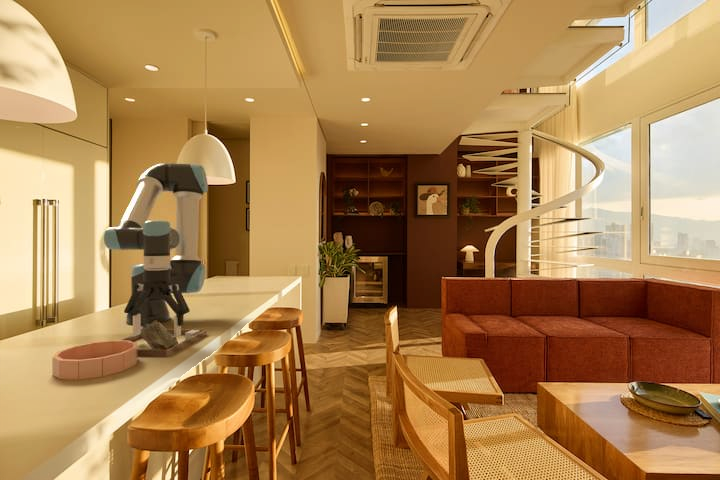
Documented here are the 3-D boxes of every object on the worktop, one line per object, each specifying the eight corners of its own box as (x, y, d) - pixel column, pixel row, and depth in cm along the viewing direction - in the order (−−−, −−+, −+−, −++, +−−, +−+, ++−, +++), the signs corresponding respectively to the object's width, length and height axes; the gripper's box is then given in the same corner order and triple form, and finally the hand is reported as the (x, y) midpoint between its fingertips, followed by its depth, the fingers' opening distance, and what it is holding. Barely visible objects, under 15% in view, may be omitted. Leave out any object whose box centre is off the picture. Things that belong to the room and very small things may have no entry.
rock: (182, 341, 119) (169, 351, 109) (167, 353, 119) (152, 364, 109) (158, 314, 118) (143, 321, 108) (143, 326, 118) (126, 335, 108)
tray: (148, 334, 131) (148, 329, 131) (206, 335, 130) (206, 330, 130) (97, 354, 108) (97, 348, 108) (167, 356, 107) (167, 350, 107)
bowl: (92, 355, 108) (92, 339, 108) (151, 356, 106) (151, 341, 106) (34, 378, 90) (34, 359, 90) (104, 380, 89) (104, 361, 89)
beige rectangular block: (192, 336, 129) (192, 330, 129) (200, 337, 128) (200, 330, 128) (185, 340, 125) (185, 332, 125) (193, 340, 124) (193, 333, 124)
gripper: (111, 269, 116) (111, 337, 116) (188, 270, 114) (188, 339, 114) (127, 267, 123) (127, 331, 123) (200, 268, 122) (200, 333, 122)
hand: (157, 335), depth 119 cm, fingers open, 13 cm apart
